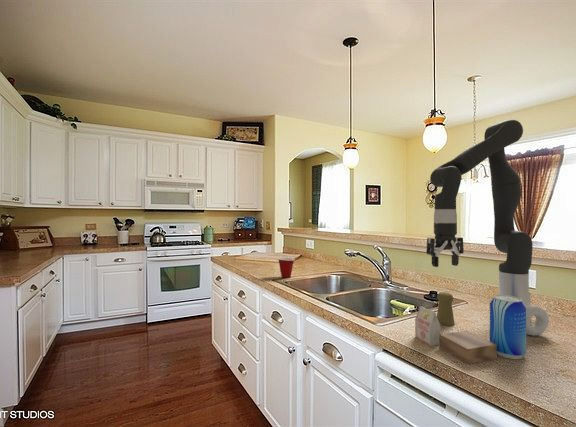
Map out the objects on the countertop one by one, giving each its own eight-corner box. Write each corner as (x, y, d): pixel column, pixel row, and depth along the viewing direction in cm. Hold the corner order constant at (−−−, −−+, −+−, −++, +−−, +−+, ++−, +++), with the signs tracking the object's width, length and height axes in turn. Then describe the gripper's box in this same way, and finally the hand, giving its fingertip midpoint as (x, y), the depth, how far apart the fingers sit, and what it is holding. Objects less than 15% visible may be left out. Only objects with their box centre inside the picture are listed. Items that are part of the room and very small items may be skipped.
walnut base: (466, 343, 92) (466, 330, 92) (496, 358, 82) (496, 344, 82) (439, 347, 90) (439, 334, 90) (467, 363, 80) (467, 349, 80)
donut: (523, 338, 96) (523, 307, 96) (514, 333, 99) (514, 303, 99) (552, 337, 97) (552, 306, 97) (542, 332, 100) (542, 303, 100)
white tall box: (424, 335, 98) (424, 305, 98) (440, 344, 92) (440, 312, 92) (415, 337, 97) (415, 306, 97) (430, 346, 91) (430, 313, 91)
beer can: (514, 363, 80) (514, 303, 80) (483, 350, 88) (483, 295, 88) (532, 357, 84) (532, 299, 83) (501, 344, 91) (501, 292, 91)
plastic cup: (298, 277, 185) (298, 258, 185) (283, 279, 180) (283, 260, 180) (289, 274, 194) (289, 256, 194) (274, 276, 189) (274, 257, 189)
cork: (457, 326, 106) (457, 295, 106) (438, 325, 107) (438, 294, 107) (451, 320, 112) (451, 291, 112) (434, 319, 113) (433, 290, 113)
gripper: (453, 221, 115) (452, 263, 115) (421, 221, 111) (421, 265, 111) (469, 221, 107) (469, 266, 108) (436, 222, 104) (436, 269, 104)
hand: (445, 266), depth 109 cm, fingers open, 8 cm apart
